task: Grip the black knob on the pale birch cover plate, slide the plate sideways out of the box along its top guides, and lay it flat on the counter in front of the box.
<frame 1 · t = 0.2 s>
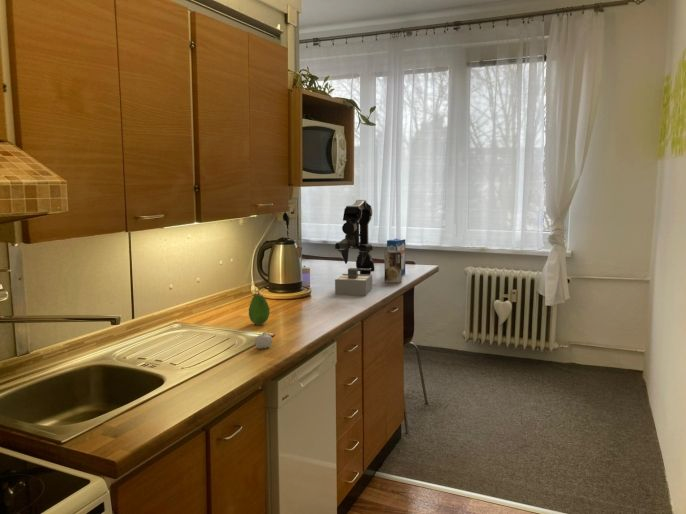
hand: (353, 264, 269), 14 cm above the countertop, fingers open, 9 cm apart
coffee box: (393, 281, 298), on the countertop
box: (354, 291, 274), on the countertop
cover plate: (352, 279, 273), point 6 cm above the countertop, touching box
garlic: (263, 348, 186), on the countertop
milk carton: (396, 275, 318), on the countertop
avocado: (259, 324, 215), on the countertop
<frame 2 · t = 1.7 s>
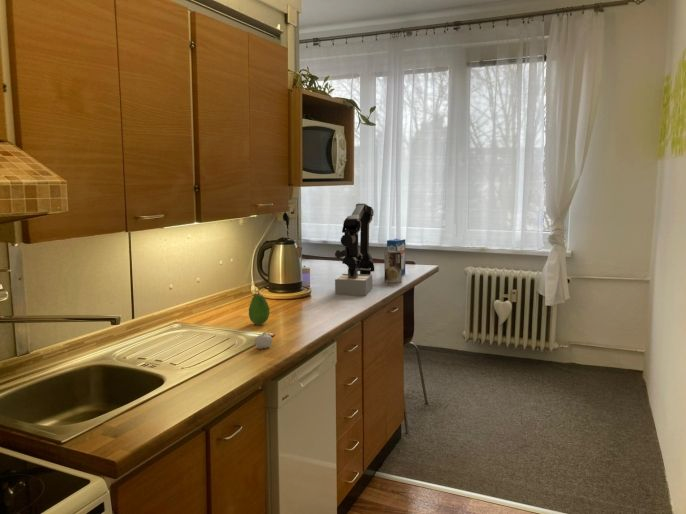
hand: (352, 275, 273), 8 cm above the countertop, fingers closed on cover plate, 4 cm apart
cover plate: (352, 279, 273), point 6 cm above the countertop, touching box, gripper
everything else where it was.
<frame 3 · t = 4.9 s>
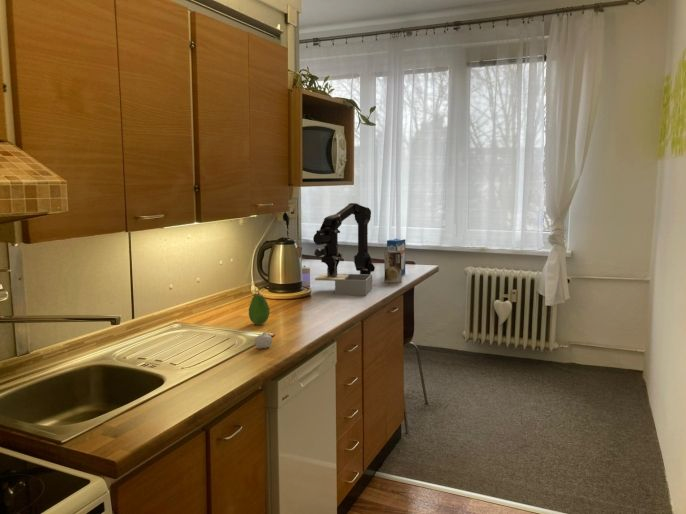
hand: (332, 274, 275), 8 cm above the countertop, fingers closed on cover plate, 4 cm apart
cover plate: (332, 278, 275), point 6 cm above the countertop, touching gripper
everything else where it was.
when the fingers open (3 cm above the countertop, at t = 8.2 s): cover plate drops 2 cm, on the countertop.
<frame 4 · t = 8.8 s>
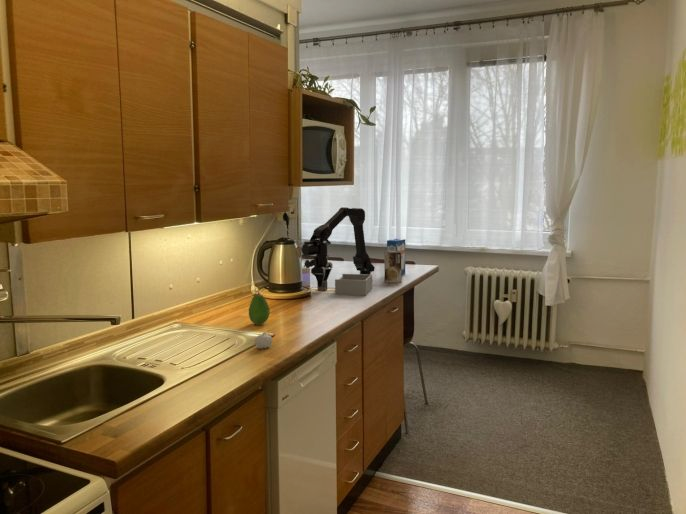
hand: (322, 284, 277), 3 cm above the countertop, fingers open, 9 cm apart
cover plate: (322, 291, 277), on the countertop
everything else where it was.
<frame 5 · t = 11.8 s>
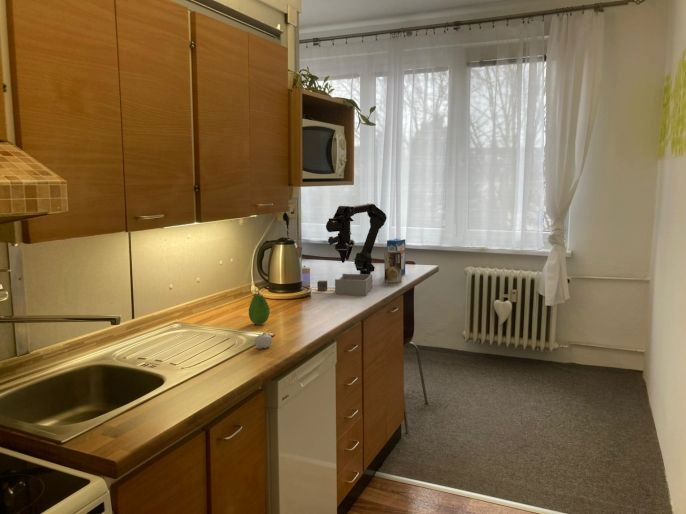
hand: (345, 261, 285), 13 cm above the countertop, fingers open, 9 cm apart
nothing on the countertop moved.
at the end: cover plate inside the target area (0.0 cm from its centre), on the countertop; cover plate tilted 0°; the gripper is holding nothing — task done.
